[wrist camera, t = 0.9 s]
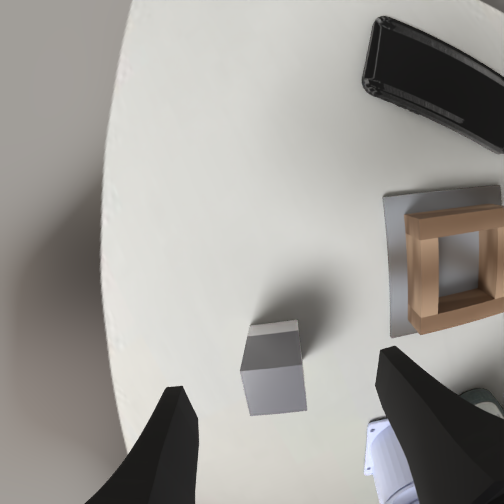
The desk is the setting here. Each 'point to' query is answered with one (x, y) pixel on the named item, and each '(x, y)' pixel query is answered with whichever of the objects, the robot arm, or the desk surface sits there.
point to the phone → (435, 82)
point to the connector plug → (273, 369)
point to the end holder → (444, 258)
